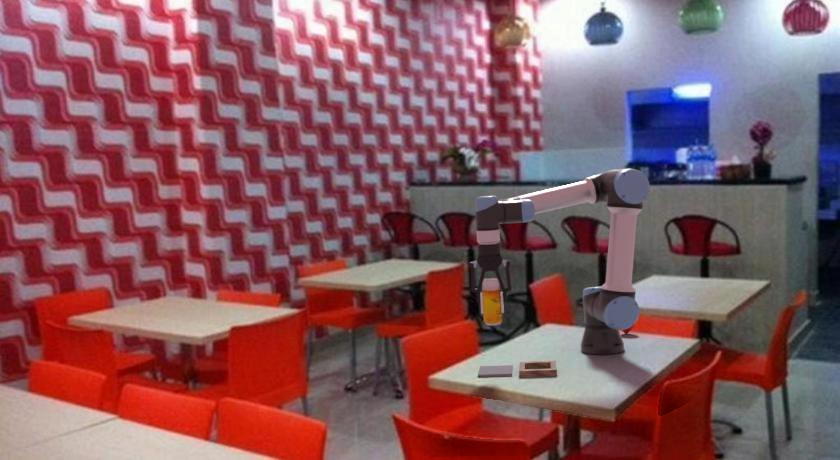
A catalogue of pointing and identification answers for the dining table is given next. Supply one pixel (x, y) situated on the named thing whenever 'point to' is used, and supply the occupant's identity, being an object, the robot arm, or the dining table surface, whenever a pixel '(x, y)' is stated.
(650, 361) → the dining table surface
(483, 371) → the coaster
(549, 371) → the tray
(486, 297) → the glass of beer
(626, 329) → the strawberry
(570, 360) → the dining table surface
